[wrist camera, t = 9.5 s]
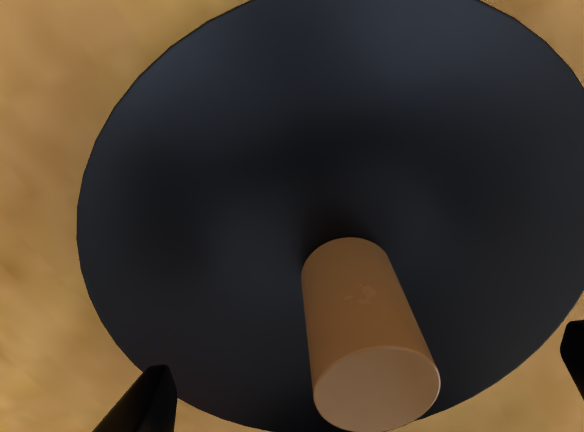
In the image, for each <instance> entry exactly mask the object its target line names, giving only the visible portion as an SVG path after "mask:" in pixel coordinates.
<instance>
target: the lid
mask: <svg viewBox="0 0 584 432" xmlns="http://www.w3.org/2000/svg"><path fill="white" fill-rule="evenodd" d="M77 246H78V253H79V260H80V267H81V271H82V275H83V278H84V281H85V284H86V288H87V291H88V294H89V297H90V299H91V301H92V303H93V305H94V308H95V310H96V312H97V314H98V316H99V318H100V320H101V322H102V323H103V325H104V326H105V328H106V329H107V331H108V332H109V334H110V335H111V337H112V338H113V340H114V341H115V343H116V344H117V346H118V347H119V348H120V349H121V350H122V351H123V352H124V353H125V355H126V356H127V357H128V358H129V359H130V360H131V361H132V363H133V364H134V365H135V366H137V367H138V368H139V369H140V370H141V371H142V372H144V371H145V370H146V369H147V368H148V367H149V366H152V365H161V364H166V365H168V366H169V368H170V371H171V374H172V376H173V379H174V382H175V385H176V388H177V398H179V399H181V400H183V401H184V402H186V403H188V404H190V405H192V406H194V407H195V408H197V409H200V410H202V411H204V412H207V413H209V414H211V415H214V416H216V417H219V418H221V419H224V420H227V421H231V422H234V423H237V424H240V425H244V426H247V427H252V428H257V429H261V430H266V431H271V432H384V431H389V430H393V429H396V428H399V427H402V426H405V425H407V424H409V423H411V422H413V421H416V420H419V419H423V418H426V417H428V416H431V415H433V414H436V413H439V412H441V411H444V410H446V409H449V408H451V407H453V406H455V405H457V404H459V403H461V402H463V401H465V400H467V399H469V398H471V397H473V396H475V395H477V394H478V393H480V392H482V391H483V390H485V389H487V388H488V387H490V386H492V385H493V384H495V383H497V382H498V381H499V380H501V379H502V378H504V377H505V376H506V375H508V374H509V373H510V372H512V371H513V370H515V369H516V368H517V367H519V366H520V365H521V364H522V363H523V362H524V361H525V360H527V359H528V358H529V357H530V356H531V355H532V354H533V353H534V352H536V351H537V350H538V349H539V348H540V347H541V346H542V345H543V344H544V343H545V341H546V340H547V339H548V338H549V337H550V336H551V335H552V334H553V333H554V332H555V331H556V330H557V328H558V327H559V326H560V325H561V323H562V322H563V321H564V319H565V318H566V317H567V315H568V314H569V313H570V311H571V310H572V308H573V307H574V306H575V304H576V303H577V301H578V299H579V297H580V296H581V294H582V292H583V290H584V88H583V86H582V84H581V83H580V81H579V80H578V78H577V77H576V75H575V73H574V72H573V70H572V69H571V68H570V67H569V66H568V65H567V64H566V62H565V61H564V60H563V59H562V58H561V57H560V56H559V55H558V54H557V53H556V52H555V51H554V49H553V48H552V47H551V46H550V45H549V44H548V43H547V42H546V41H545V40H543V39H542V38H541V37H539V36H538V35H537V34H535V33H534V32H533V31H531V30H530V29H529V28H527V27H526V26H525V25H523V24H522V23H521V22H519V21H518V20H517V19H515V18H514V17H512V16H510V15H508V14H506V13H504V12H502V11H500V10H498V9H496V8H494V7H492V6H490V5H488V4H487V3H485V2H483V1H481V0H250V1H248V2H246V3H244V4H242V5H239V6H237V7H235V8H233V9H231V10H229V11H227V12H225V13H223V14H221V15H219V16H217V17H215V18H213V19H211V20H209V21H207V22H205V23H204V24H202V25H201V26H199V27H198V28H197V29H195V30H194V31H192V32H191V33H189V34H188V35H186V36H185V37H183V38H182V39H180V40H179V41H178V42H176V43H175V44H173V45H172V46H170V47H169V48H168V49H167V50H166V51H165V52H164V53H163V54H162V55H161V56H160V57H158V58H157V59H156V60H155V61H154V62H153V63H152V64H151V65H150V66H149V67H148V68H147V69H146V70H145V71H143V72H142V73H141V74H140V75H139V76H138V78H137V79H136V80H135V81H134V83H133V84H132V85H131V86H130V88H129V89H128V90H127V92H126V93H125V94H124V95H123V97H122V98H121V99H120V100H119V102H118V103H117V104H116V106H115V107H114V108H113V110H112V112H111V114H110V115H109V117H108V119H107V121H106V123H105V124H104V126H103V128H102V130H101V132H100V133H99V135H98V137H97V139H96V141H95V143H94V146H93V149H92V152H91V154H90V157H89V160H88V163H87V165H86V168H85V171H84V174H83V179H82V184H81V189H80V195H79V200H78V206H77Z"/></svg>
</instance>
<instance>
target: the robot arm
mask: <svg viewBox="0 0 584 432" xmlns="http://www.w3.org/2000/svg"><path fill="white" fill-rule="evenodd" d="M560 353H561V357H562V359H563V361H564V363H565V365H566V367H567V369H568V371H569V373H570V375H571V377H572V379H573V381H574V382H575V384H576V386H577V388H578V390H579V392H580V394H581V396H582V398H583V400H584V320H578V321H571V322H569V323H568V324H567V326H566V329H565V332H564V335H563V339H562V342H561V346H560ZM176 405H177V388H176V385H175V382H174V379H173V376H172V374H171V371H170V368H169V366H168V365H166V364H161V365H152V366H149V367H148V368H147V369H146V370H145V371H144V372H143V373H142V374H141V376H140V377H139V378H138V379H137V380H136V381H135V382H134V384H133V385H132V386H131V387H130V388H129V389H128V391H127V392H126V393H125V394H124V395H123V396H122V398H121V399H120V400H119V401H118V402H117V403H116V405H115V406H114V407H113V408H112V409H111V410H110V411H109V413H108V414H107V415H106V416H105V417H104V418H103V420H102V421H101V422H100V423H99V424H98V425H97V427H96V428H95V429H94V430H93V431H92V432H174V425H175V415H176Z"/></svg>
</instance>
